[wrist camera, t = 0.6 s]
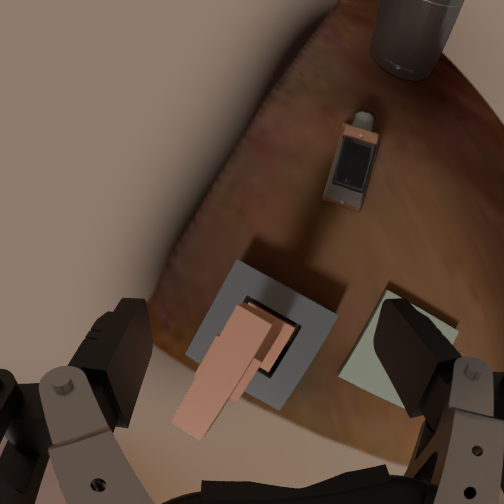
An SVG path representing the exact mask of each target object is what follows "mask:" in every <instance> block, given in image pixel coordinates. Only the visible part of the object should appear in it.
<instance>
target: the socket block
mask: <svg viewBox="0 0 504 504" xmlns="http://www.w3.org/2000/svg"><path fill="white" fill-rule="evenodd" d="M250 297H251V298H253V299H255V300H256V301H258V302H260V303H262V304H263V305H265V306H267V307H269V308H271V309H272V310H274V311H276V312H278V313H279V314H281V315H283V316H285V317H287V318H288V319H290V320H292V321H294V322H296V323H297V324H299V325H301V326H300V328H299V330H298V332H297V333H296V335H295V337H294V338H293V340H292V342H291V343H290V345H289V347H288V348H287V350H286V352H285V353H284V355H283V357H282V358H281V360H280V362H279V363H278V365H277V367H276V368H275V370H274V371H273V370H271V369H270V371H269V372H267V371H266V370H264V369H262V368H260V367H259V369H258V370H257V372H256V373H255V375H254V376H253V378H252V380H251V381H250V383H249V384H248V386H247V387H246V389H245V392H247V393H248V394H250V395H252V396H254V397H256V398H257V399H259V400H261V401H263V402H265V403H266V404H268V405H270V406H272V407H274V408H276V409H278V410H279V411H280V409H281V408H282V406H283V405H284V403H285V402H286V400H287V399H288V398H289V396H290V395H291V393H292V391H293V390H294V388H295V387H296V385H297V384H298V382H299V381H300V379H301V378H302V376H303V375H304V373H305V371H306V370H307V368H308V367H309V365H310V363H311V362H312V360H313V359H314V357H315V355H316V354H317V352H318V350H319V349H320V347H321V345H322V344H323V342H324V340H325V339H326V337H327V335H328V333H329V332H330V330H331V328H332V327H333V325H334V323H335V321H336V320H337V318H338V316H339V315H338V314H337V313H335V312H333V311H332V310H330V309H328V308H326V307H324V306H322V305H321V304H319V303H317V302H315V301H313V300H312V299H310V298H308V297H306V296H304V295H302V294H301V293H299V292H297V291H295V290H293V289H292V288H290V287H288V286H286V285H284V284H283V283H281V282H279V281H277V280H275V279H274V278H272V277H270V276H268V275H266V274H265V273H263V272H261V271H259V270H257V269H256V268H254V267H252V266H250V265H248V264H247V263H245V262H243V261H240V260H238V259H237V260H236V262H235V264H234V266H233V267H232V269H231V271H230V273H229V275H228V276H227V278H226V280H225V282H224V284H223V286H222V287H221V289H220V291H219V293H218V295H217V297H216V298H215V300H214V302H213V304H212V306H211V308H210V309H209V311H208V313H207V315H206V317H205V319H204V320H203V322H202V324H201V326H200V328H199V330H198V331H197V333H196V335H195V337H194V339H193V341H192V342H191V344H190V346H189V348H188V350H187V352H186V354H185V355H187V356H188V357H190V358H191V359H193V360H194V361H196V362H198V363H199V364H201V362H202V361H203V359H204V357H205V355H206V354H207V352H208V350H209V348H210V346H211V345H212V343H213V341H214V339H215V337H216V336H217V335H218V334H220V333H222V331H223V329H224V327H225V325H226V324H227V322H228V320H229V318H230V316H231V315H232V313H233V311H234V309H235V308H236V306H237V304H241V303H248V301H249V299H250Z"/></svg>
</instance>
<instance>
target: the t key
mask: <svg viewBox="0 0 504 504" xmlns="http://www.w3.org/2000/svg"><path fill="white" fill-rule="evenodd" d="M295 327H296V324H294V323H293V322H291V321H289V320H287V319H286V318H284V317H282V316H280V315H278V314H277V313H275V312H273V311H271V310H270V309H268V308H266V307H264V306H262V305H261V304H259V303H257V302H255V301H251V302H249V303H248V304H247V303H241V304H237V306H236V308H235V309H234V311H233V313H232V315H231V316H230V318H229V320H228V322H227V324H226V325H225V327H224V329H223V331H222V333H220V334H218V335H217V336H216V337H215V339H214V341H213V343H212V345H211V346H210V348H209V350H208V352H207V354H206V355H205V357H204V359H203V361H202V362H201V364H200V366H199V368H198V369H197V371H196V373H195V375H194V377H196V379H195V380H194V382H193V384H192V386H191V387H190V389H189V391H188V393H187V394H186V396H185V398H184V400H183V401H182V403H181V405H180V407H179V408H178V410H177V412H176V413H175V415H174V417H173V419H172V421H171V423H173V424H174V425H176V426H178V427H179V428H180V429H182V430H184V431H185V432H187V433H188V434H190V435H191V436H193V437H195V438H196V439H198V440H199V441H201V440H202V438H203V437H204V436H205V434H206V433H207V432H208V430H209V429H210V428H211V426H212V425H213V423H214V422H215V420H216V419H217V417H218V415H219V414H220V412H221V411H222V409H223V408H224V406H225V404H226V403H227V401H228V400H229V398H230V399H231V400H233V401H235V402H237V401H238V400H239V398H240V397H241V395H242V394H243V392H244V391H245V389H246V387H247V386H248V384H249V383H250V381H251V380H252V378H253V376H254V375H255V373H256V372H257V370H258V369H259V367H260V368H262V369H264V370H266V371H267V372H269V371H270V369H271V367H272V366H273V364H274V362H275V361H276V359H277V358H278V356H279V354H280V353H281V351H282V349H283V348H284V346H285V344H286V343H287V341H288V339H289V338H290V336H291V334H292V332H293V331H294V329H295Z"/></svg>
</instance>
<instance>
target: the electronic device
mask: <svg viewBox="0 0 504 504" xmlns="http://www.w3.org/2000/svg"><path fill="white" fill-rule="evenodd" d="M375 118H376V116H375V114H373V113H372V112H369V111H367V110H357V111H356V112H355V117H354V120H353V123H352V125H351V124H347V123H343V125H342V130H341V132H340V137H339V140H338V144H337V148H336V152H335V155H334V158H333V162H332V166H331V169H330V173H329V176H328V179H327V183H326V187H325V190H324V193H323V197H322V200H323V201H326V202H329V203H334V204H336V205H338V206H341V207H344V208H347V209H351V210H353V211H356V212H360V211H361V208H362V205H363V201H364V198H365V194H366V190H367V186H368V183H369V179H370V175H371V171H372V168H373V165H374V162H375V159H376V155H377V151H378V148H379V146H380V135H379V133H376V132H373V130H374V121H375Z"/></svg>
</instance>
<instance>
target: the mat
mask: <svg viewBox="0 0 504 504" xmlns="http://www.w3.org/2000/svg"><path fill="white" fill-rule="evenodd" d="M393 298H401V297H399V296H397V295H396V294H394V293H392V292H390V291H389V290H385V291H384V293H383V295H382V297H381V299H380V301H379V303H378V304H377V306H376V308H375V310H374V312H373V314H372V316H371V317H370V319H369V321H368V323H367V325H366V327H365V328H364V330H363V332H362V334H361V335H360V337H359V339H358V341H357V342H356V344H355V346H354V347H353V349H352V351H351V352H350V354H349V356H348V357H347V359H346V361H345V362H344V364H343V366H342V367H341V369H340V370H339V372H338V376H339V377H341V378H343V379H345V380H347V381H348V382H350V383H352V384H354V385H356V386H358V387H360V388H362V389H365V390H367V391H369V392H371V393H373V394H375V395H377V396H379V397H381V398H383V399H385V400H387V401H389V402H392V403H394V404H396V405H398V406H400V407H402V408H404V409H405V407H404V405H403V403H402V401H401V400H400V398H399V396H398V394H397V392H396V390H395V388H394V386H393V384H392V382H391V381H390V379H389V377H388V375H387V373H386V371H385V369H384V368H383V366H382V364H381V362H380V360H379V359H378V357H377V355H376V353H375V350H374V345H373V339H374V334H375V330H376V326H377V322H378V319H379V315H380V311H381V307H382V303H383V301H384V300H385V299H393ZM412 305H413V304H412ZM413 306H414V308H415V309H416V310H417V311H419V312H421V313H422V314H424V315H425V316H427V317H429V318H430V319H431V321H432V322H433V323H434V324H435V325H436V328H438V329H439V330H440V331H441V332H442V335H444V336H445V337H446V338H447V339H448V340H449V341H450V343H451V344H452V345H453V343H454V341H455V339H456V337H457V335H458V333H459V331H457V330H456V329H454V328H452V327H451V326H449V325H447V324H446V323H444V322H442V321H440V320H439V319H437V318H435V317H434V316H432V315H430V314H429V313H427V312H425V311H423V310H422V309H420V308H418V307H416V306H415V305H413Z"/></svg>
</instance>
